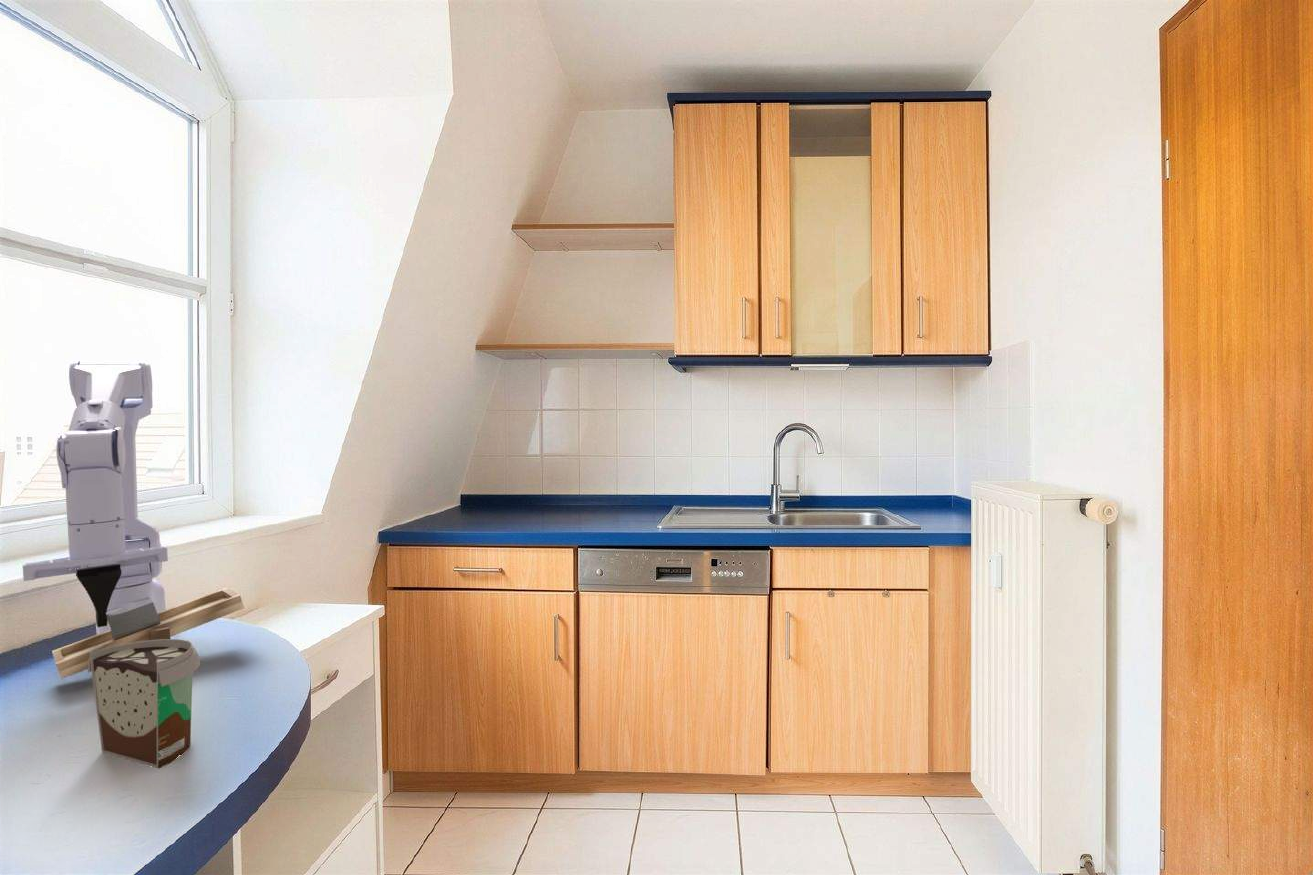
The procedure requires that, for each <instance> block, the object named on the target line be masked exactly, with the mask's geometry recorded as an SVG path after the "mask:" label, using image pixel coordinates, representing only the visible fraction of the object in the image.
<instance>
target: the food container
mask: <svg viewBox="0 0 1313 875" xmlns="http://www.w3.org/2000/svg"><path fill="white" fill-rule="evenodd" d="M200 666H201V660H200V658H199V654H198V652H197V649H196V648H195V647H194V646H193V643H192V642H191V641H189V640H185V639H179V638H177V639H175V638H170V639H161V640H149V641H141V642H134V643H128V644H123V645H117V646H113V647H108V648H104V649H100V650H96V651H92V652H90V658H89V665H88V669H87V670H88V671H87V672H88V673H91V675H92V683H93V690H94V691H93V692H94V699H95V708H96V714H97V716H96V718H97V723H98V731H99V740H100V747H101V748H100V749H101V753H102V754H106V755H109V756H112V757H116V758H120V759H122V758H123V760H126V761H129V760H130V762H133V763H136V762H137V764H140V763H141V764H140V765H143V764H144V766H147V765H148V767H150V766H152V767H151V768H155V769H157V768H158V769H160V768H163V767H164V766H167V765H169V764H171V763H172V761H173V762H174V761H175V759H176V758H177V757H178V756H179V755H182V754H183V753H184V752H185V751H186V750H187V749H188V748H189V747H190V748H191V739H192V738H191V733H192V731H191V729H192V702H193V701H192V700H193V699H192V697H193V673H194V672H195V671H197V670H198V669H199V667H200ZM190 748H189V749H190ZM189 749H188V750H189ZM188 750H187V751H188ZM187 751H186V752H187ZM186 752H185V753H186ZM185 753H184V754H185ZM184 754H183V755H184ZM183 755H182V756H183ZM177 759H178V758H177ZM177 759H176V760H177ZM162 766H163V767H162ZM158 769H157V770H158Z"/></svg>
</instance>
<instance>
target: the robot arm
mask: <svg viewBox="0 0 1313 875" xmlns="http://www.w3.org/2000/svg"><path fill="white" fill-rule="evenodd" d="M68 369H69V370H68V375H69V376H68V380H69V388H70V392H71V395H72V397H73V399H74V403H75V406H76V407H75V409H74V410H73V414H72V417H71V421H70V425H69V428H68V430H67V431H66V433H65V435H62V434H61V435H58V437H57V441H56V460H57V465H58V468H59V472H60V479H61V486H62V489H65V490H64V491H65V504H66V521H67V535H68V536H67V537H68V538H67V539H68V557H61V558H55V559H49V560H42V561H35V562H29V563H28V562H27V563H23V564H22V576H23V577H22V578H23V581H24V582H26V581H35V580H38V579H43V578H44V579H45V578H50V577H57V576H65V575H72V574H75V576H76V578H77V580H78V582H80V584H81V585H82V587H83V588H84V589H85V591H86V593H87V595H88V596H89V599H90V601H91V603H92V605H93V607H94V614H95V615H94V616H95V628H96V635H97V634H100V633H103V632H106V631H108V630H110V629H109V627H108V624H107V618H106V617H107V615H106V612H107V610H110V609H113V608H115V607H118V606H121V605H124V604H127V603H130V602H133V601H136V600H139V599H142V598H144V597H147V596H148V597H149V598H150V599H151V600H152V601H153V603H154V606H155V608H156V611H157V613H158V612H161V611H163V610H166V609H167V608H166V595H165V589H164V587H163V585H162V584H161V583H160V582H159V581H158V580H157V579H154V578H158V577H159V576H160V574H161V573H162V572H163V571H162V570H163V562H164V563H165V562H168V560H169V559H168V558H169V557H168V547H167V546H165V545H162V544H161V540H160V538H161V537H160V532H159V530H157V527H155V526H154V525H152V524H150V523H148V522H145V521H144V520H141V519H140V518H138V516H139V515H138V485H137V483H138V482H137V480H138V479H137V478H138V477H137V453H136V452H137V449H136V448H137V447H136V434H137V430H138V426H139V422H140V420H142V419H144V418H146V417H148V416H150V415H151V414H152V409H153V377H152V376H153V375H152V369H151V364H150V363H149V362H147V361H146V359H145V360H143V359H142V360H140V361H138V360H137V361H136V360H133V361H130V360H129V361H128V360H127V361H126V360H125V361H123V360H122V361H121V360H116V361H115V360H111V361H109V360H102V361H101V360H98V361H97V360H80V359H75V360H73V361H72V362H71V363H70V364H69V368H68ZM161 545H162V546H161Z"/></svg>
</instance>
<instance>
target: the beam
mask: <svg viewBox="0 0 1313 875" xmlns="http://www.w3.org/2000/svg"><path fill="white" fill-rule="evenodd" d="M243 609H245V607H244V603H243V600H242V596H241V595H240V594H238V592H235V591H234V590H232V589H230V588H229V587H224V588H222V589H219V590H216V591H213V592H211V593H208V594H205V595H203V596H200V597H197V598H194V599H191V600H188V601H186V602H182V603H180V604H177V605H174V606H172V607H169V608H166V610H163V611H161V612H158V613H157V614H158V617H159V620H160V623H161V624H158V625H156V626H153V627H150V628H147V629H145V630H142V631H139V632H137V633H134V634H131V635H129V636H126V637H123V638H121V639H118V640H115V641H114V640H113V638H112V635H111V632H110V630H108V631H106V632H103V633H100V634H97V633H96V634H94V635H93V636H89V637H87V638H84V639H81V640H79V641H75V642H73V643H71V644H68V645H64V646H62V647H59V648H56V649H54V650H51V652H52V655H53V656H52V657H53V659H54V663H55V666H56V669H57V672H58V674H59V677H60V680H64V679H66V678H68V677H71V676H73V675H76V674H78V673H81V672H84V671H86V670H88V665H89V658H90V652H92V651H96V650H100V649H104V648H108V647H113V646H117V645H123V644H128V643H134V642H141V641H149V640H150V630H155V629H160V628H165V627H169V628H170V638H171V637H174V636H177V635H179V634H181V633H184V632H187V631H189V630H192V629H194V628H196V627H199V626H202V625H204V624H207V623H210V622H213V621H215V620H218V619H220V618H223V617H226V616H228V615H230V614H233V613H235V612H238V611H241V610H243Z"/></svg>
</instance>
